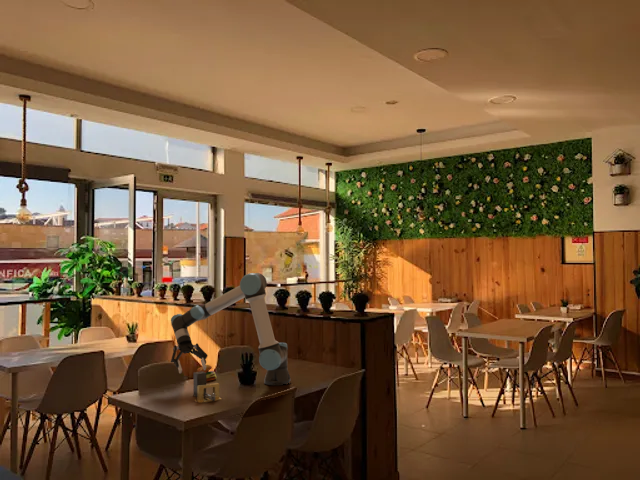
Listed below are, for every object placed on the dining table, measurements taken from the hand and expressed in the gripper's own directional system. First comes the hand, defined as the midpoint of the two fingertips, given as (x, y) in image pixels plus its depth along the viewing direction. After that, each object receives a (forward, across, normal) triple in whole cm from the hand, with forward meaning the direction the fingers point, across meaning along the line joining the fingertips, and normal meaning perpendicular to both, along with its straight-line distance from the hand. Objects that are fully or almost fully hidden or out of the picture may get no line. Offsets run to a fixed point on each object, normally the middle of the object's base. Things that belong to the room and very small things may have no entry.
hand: (193, 370), depth 288 cm
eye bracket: (+22, -1, +5) cm, 22 cm away
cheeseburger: (-10, -19, -28) cm, 35 cm away
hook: (+19, -1, +2) cm, 19 cm away
